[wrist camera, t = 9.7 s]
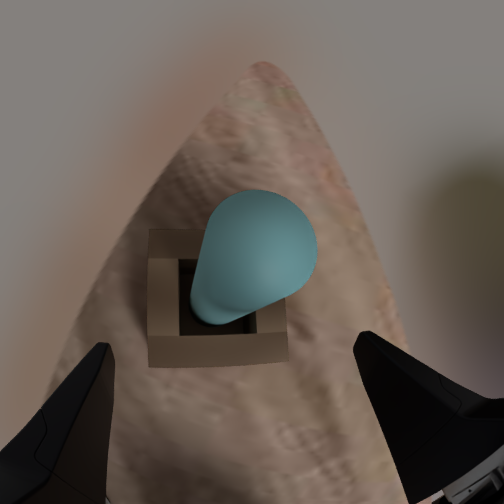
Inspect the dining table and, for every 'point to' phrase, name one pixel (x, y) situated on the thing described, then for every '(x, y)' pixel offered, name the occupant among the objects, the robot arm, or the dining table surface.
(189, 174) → the dining table surface
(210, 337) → the walnut hole block
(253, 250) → the teal pin
